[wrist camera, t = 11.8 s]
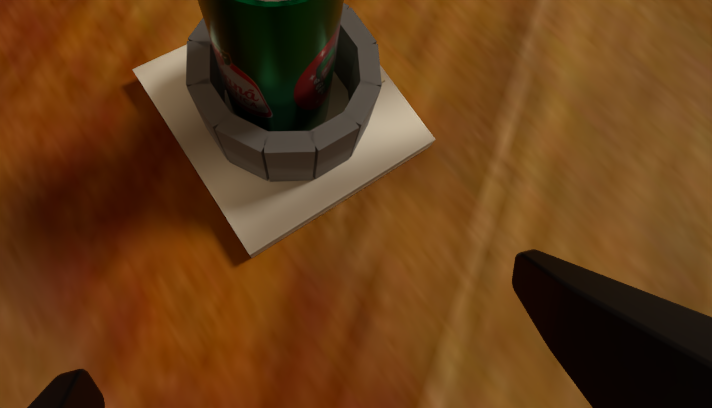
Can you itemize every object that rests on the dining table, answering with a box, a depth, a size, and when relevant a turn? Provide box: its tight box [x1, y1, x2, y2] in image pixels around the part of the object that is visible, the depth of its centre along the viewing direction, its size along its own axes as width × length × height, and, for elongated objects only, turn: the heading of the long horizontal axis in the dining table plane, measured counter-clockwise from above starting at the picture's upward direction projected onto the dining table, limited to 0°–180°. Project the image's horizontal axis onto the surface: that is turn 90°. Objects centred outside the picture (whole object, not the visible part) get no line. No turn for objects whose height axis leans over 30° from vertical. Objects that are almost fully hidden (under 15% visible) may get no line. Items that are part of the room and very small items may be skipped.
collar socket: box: [132, 3, 435, 258], centre depth 22 cm, size 12×12×5 cm
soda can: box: [198, 0, 344, 131], centre depth 17 cm, size 5×5×12 cm
